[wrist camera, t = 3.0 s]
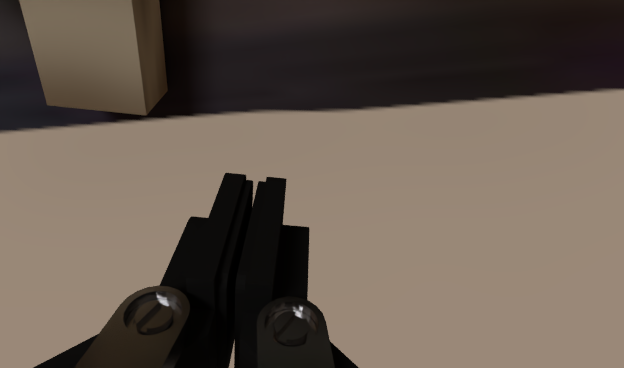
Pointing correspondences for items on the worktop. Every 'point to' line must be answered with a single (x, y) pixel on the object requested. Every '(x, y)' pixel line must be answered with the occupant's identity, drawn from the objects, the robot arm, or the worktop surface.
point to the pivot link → (98, 53)
